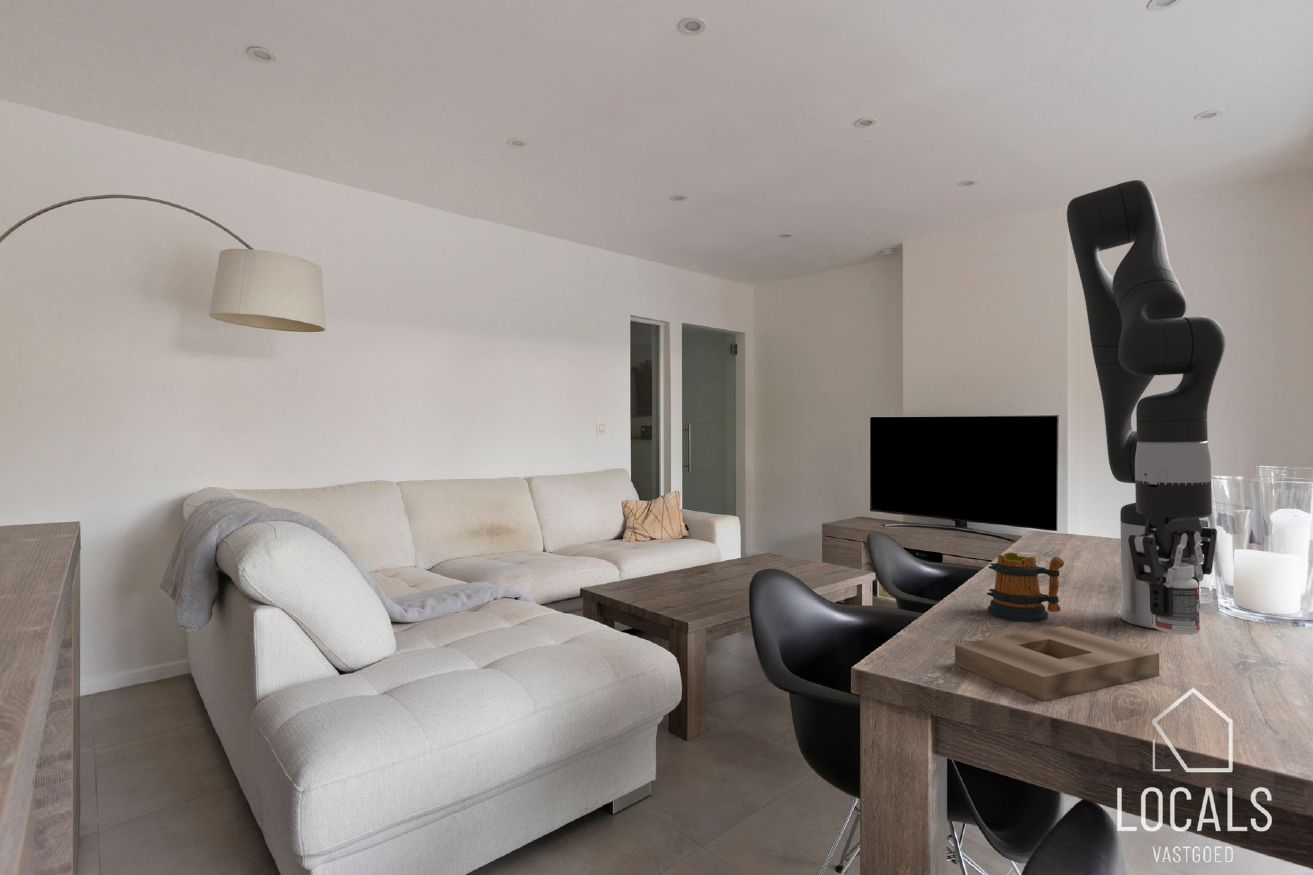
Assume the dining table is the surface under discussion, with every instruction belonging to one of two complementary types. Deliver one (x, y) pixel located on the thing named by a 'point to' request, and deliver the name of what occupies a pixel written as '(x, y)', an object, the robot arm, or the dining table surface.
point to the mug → (1023, 589)
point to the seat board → (1056, 662)
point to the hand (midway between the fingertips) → (1174, 611)
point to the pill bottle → (1182, 604)
